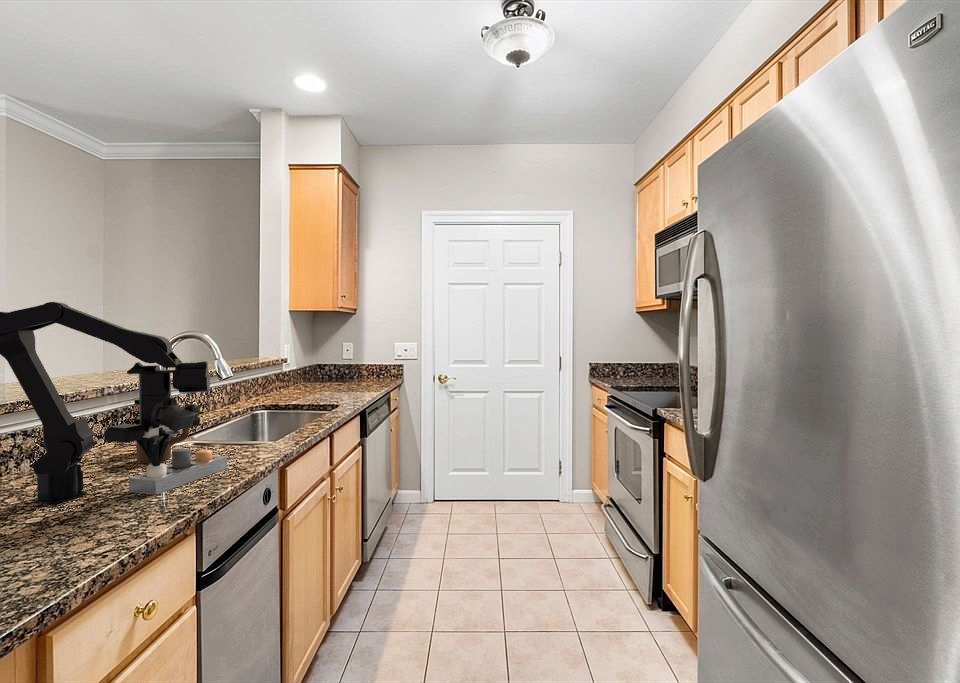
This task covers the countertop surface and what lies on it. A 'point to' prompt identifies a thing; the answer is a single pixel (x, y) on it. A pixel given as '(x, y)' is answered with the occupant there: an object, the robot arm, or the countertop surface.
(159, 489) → the button strip
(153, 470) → the button ivory
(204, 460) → the button orange
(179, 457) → the button charcoal
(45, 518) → the countertop surface
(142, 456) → the mug
